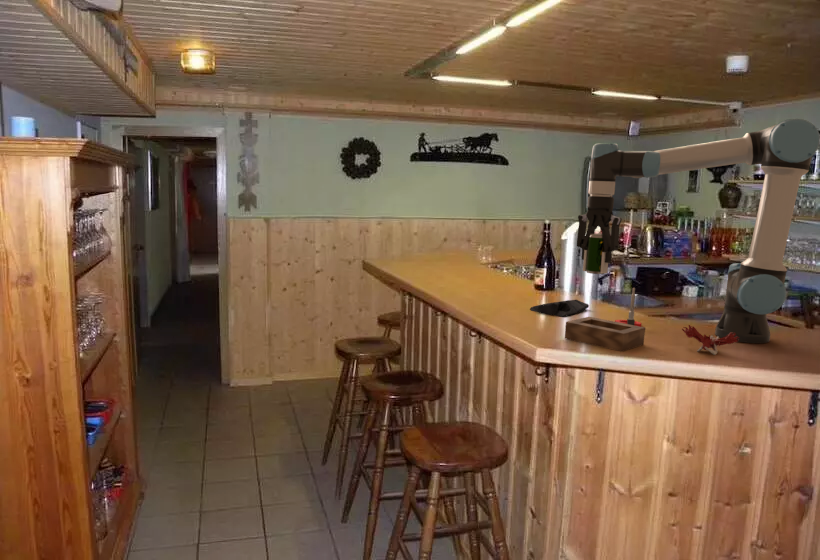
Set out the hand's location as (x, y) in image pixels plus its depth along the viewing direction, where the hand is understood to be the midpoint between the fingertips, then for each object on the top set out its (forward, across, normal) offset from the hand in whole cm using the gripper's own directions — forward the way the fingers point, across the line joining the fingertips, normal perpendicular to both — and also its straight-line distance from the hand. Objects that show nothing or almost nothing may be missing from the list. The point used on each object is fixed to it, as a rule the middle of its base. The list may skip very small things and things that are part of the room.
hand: (595, 271), depth 194 cm
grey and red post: (+19, -2, -20) cm, 28 cm away
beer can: (+1, 0, 0) cm, 1 cm away
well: (+19, -10, +9) cm, 23 cm away
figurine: (+19, -33, -6) cm, 39 cm away
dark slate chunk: (+19, +25, -21) cm, 38 cm away
